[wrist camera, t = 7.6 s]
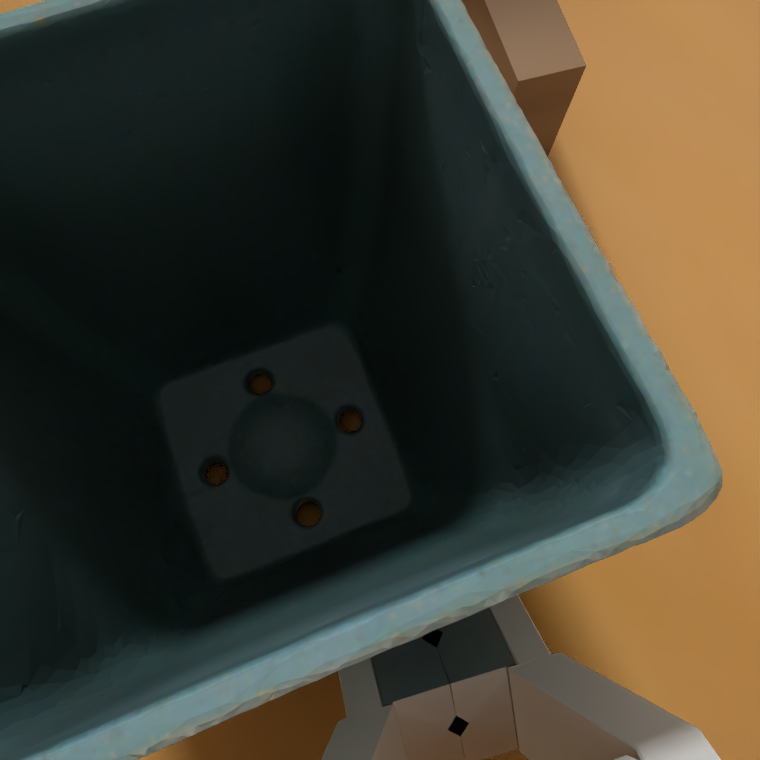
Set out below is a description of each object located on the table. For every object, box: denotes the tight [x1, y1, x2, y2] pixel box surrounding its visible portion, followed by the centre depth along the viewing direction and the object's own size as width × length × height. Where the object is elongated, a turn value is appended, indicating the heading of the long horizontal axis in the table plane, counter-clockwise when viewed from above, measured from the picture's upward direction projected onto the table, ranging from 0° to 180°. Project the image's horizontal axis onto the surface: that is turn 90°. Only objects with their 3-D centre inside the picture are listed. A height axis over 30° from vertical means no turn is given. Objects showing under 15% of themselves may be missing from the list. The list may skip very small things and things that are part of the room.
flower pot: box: [0, 0, 722, 760], centre depth 12 cm, size 9×9×9 cm
